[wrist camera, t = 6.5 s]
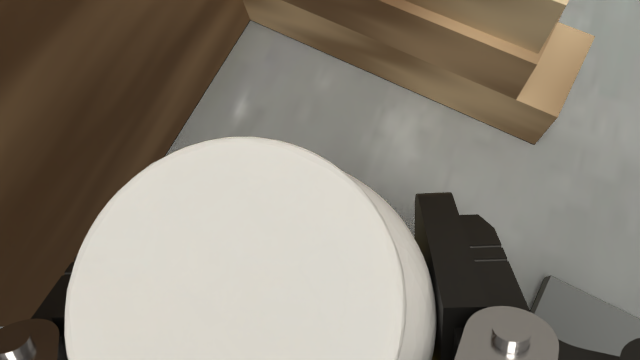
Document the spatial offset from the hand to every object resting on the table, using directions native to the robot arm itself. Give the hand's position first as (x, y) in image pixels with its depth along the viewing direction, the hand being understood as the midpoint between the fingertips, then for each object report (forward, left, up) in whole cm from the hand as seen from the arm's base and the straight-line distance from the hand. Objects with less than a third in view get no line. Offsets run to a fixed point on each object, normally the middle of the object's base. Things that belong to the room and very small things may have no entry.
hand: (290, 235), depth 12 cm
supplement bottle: (+1, -2, -4) cm, 5 cm away
